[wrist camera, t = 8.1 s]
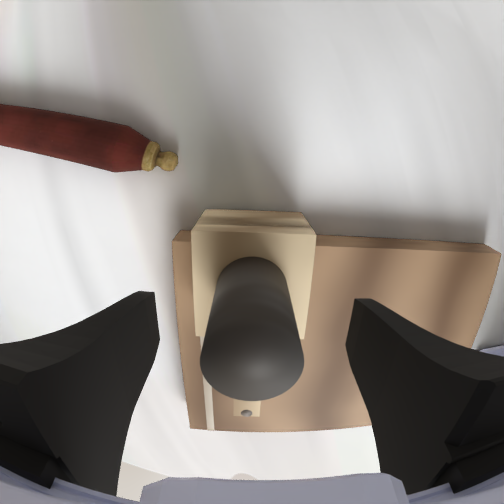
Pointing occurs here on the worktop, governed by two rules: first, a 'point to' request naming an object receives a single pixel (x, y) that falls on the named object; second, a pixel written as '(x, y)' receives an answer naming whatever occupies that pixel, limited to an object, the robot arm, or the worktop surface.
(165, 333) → the worktop surface
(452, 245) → the board
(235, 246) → the rubber stamp
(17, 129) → the gavel
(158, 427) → the worktop surface
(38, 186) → the worktop surface
